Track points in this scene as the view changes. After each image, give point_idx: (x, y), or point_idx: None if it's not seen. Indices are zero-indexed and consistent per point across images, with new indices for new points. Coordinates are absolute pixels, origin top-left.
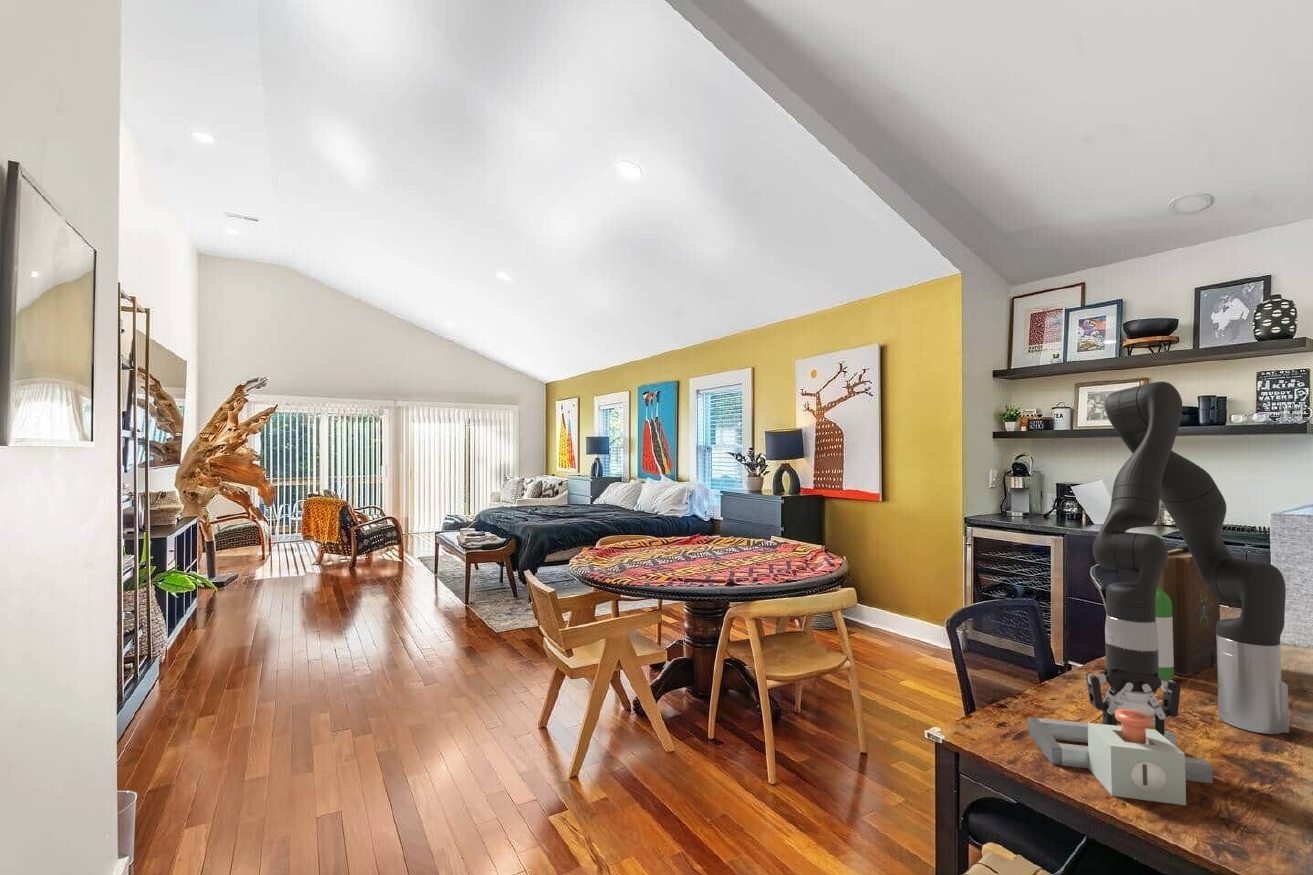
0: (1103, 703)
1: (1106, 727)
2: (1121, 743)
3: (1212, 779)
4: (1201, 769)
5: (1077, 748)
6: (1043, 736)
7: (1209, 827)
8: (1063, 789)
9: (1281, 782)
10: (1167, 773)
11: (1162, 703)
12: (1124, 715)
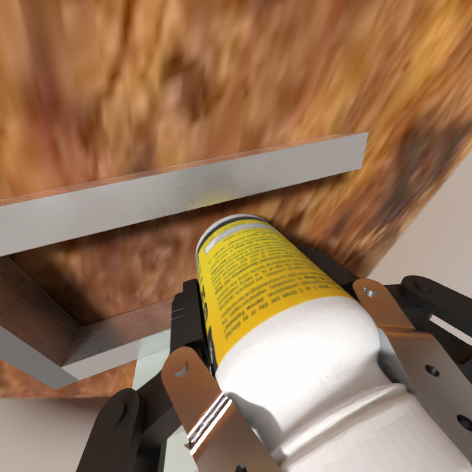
0: (170, 427)
1: (171, 445)
2: (194, 464)
3: None
4: None
5: (113, 361)
6: (7, 361)
7: None
8: (112, 390)
9: (406, 211)
10: None
11: (436, 304)
12: None
